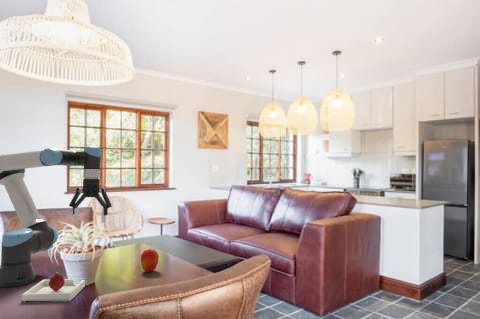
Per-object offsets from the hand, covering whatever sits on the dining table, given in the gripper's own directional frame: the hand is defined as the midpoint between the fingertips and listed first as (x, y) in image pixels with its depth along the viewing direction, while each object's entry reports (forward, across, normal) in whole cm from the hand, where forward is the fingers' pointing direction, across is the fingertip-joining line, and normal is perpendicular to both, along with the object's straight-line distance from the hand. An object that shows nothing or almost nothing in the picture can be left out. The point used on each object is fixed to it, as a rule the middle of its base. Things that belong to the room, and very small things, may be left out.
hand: (89, 221), depth 161 cm
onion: (+26, +2, +22) cm, 34 cm away
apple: (+27, -26, -13) cm, 40 cm away
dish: (+27, +2, +22) cm, 34 cm away
